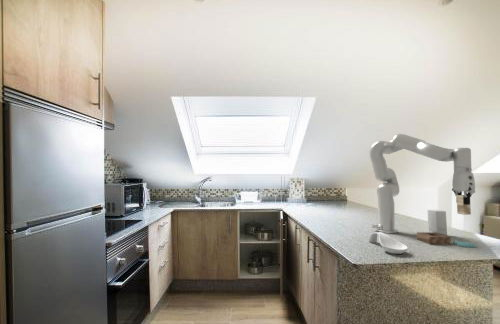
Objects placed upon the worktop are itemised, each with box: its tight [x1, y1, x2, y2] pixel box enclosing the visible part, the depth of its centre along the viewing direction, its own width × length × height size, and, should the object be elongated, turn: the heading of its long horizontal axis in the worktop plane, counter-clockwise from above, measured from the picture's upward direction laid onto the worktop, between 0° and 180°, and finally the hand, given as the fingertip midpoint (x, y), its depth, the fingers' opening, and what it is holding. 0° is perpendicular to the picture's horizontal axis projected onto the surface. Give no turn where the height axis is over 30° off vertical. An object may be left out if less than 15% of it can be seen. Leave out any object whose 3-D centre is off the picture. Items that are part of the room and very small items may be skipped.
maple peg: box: [456, 194, 472, 216], centre depth 142 cm, size 4×4×10 cm
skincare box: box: [427, 209, 448, 236], centre depth 163 cm, size 8×7×16 cm
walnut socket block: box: [416, 231, 452, 245], centre depth 148 cm, size 12×10×4 cm
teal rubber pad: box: [453, 240, 476, 249], centre depth 142 cm, size 9×9×1 cm
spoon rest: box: [368, 231, 409, 255], centre depth 136 cm, size 24×12×7 cm, turn 9°
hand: (463, 203), depth 142 cm, fingers closed on maple peg, 4 cm apart
